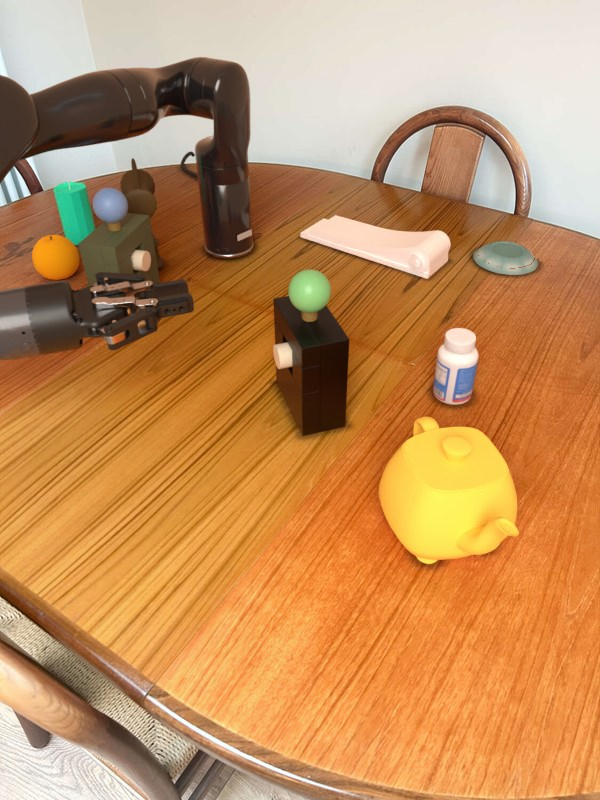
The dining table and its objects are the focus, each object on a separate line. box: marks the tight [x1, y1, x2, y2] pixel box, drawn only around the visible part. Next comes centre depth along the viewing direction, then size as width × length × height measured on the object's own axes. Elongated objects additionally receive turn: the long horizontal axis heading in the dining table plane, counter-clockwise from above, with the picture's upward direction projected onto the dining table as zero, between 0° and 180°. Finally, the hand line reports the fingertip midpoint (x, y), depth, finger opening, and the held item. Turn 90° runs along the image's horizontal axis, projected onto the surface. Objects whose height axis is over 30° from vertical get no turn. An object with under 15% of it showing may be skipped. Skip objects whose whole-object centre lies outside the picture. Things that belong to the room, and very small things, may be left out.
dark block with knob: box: [272, 268, 350, 437], centre depth 84 cm, size 6×12×20 cm, turn 18°
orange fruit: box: [31, 234, 81, 281], centre depth 117 cm, size 8×8×8 cm
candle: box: [53, 178, 96, 246], centre depth 127 cm, size 6×6×12 cm
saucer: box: [472, 240, 539, 276], centre depth 122 cm, size 12×12×2 cm
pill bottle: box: [432, 327, 479, 406], centre depth 89 cm, size 6×5×10 cm
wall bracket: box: [300, 214, 451, 280], centre depth 124 cm, size 10×7×28 cm
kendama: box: [120, 157, 165, 270], centre depth 115 cm, size 6×10×20 cm, turn 13°
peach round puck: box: [130, 250, 151, 271], centre depth 104 cm, size 2×3×3 cm
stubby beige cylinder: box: [272, 342, 292, 369], centre depth 84 cm, size 2×3×3 cm
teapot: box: [378, 416, 520, 565], centre depth 69 cm, size 14×20×13 cm
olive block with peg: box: [78, 186, 161, 316], centre depth 104 cm, size 6×12×20 cm, turn 165°
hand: (189, 295), depth 75 cm, fingers closed
